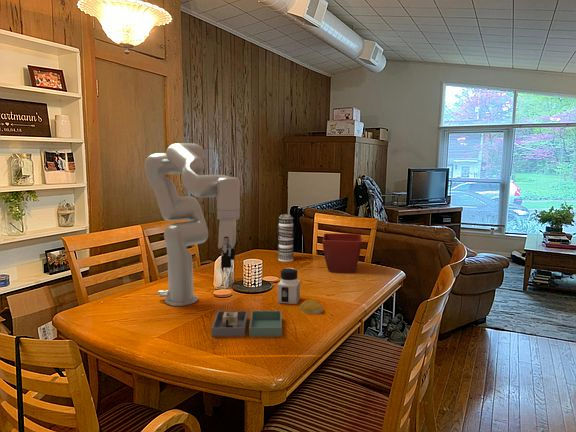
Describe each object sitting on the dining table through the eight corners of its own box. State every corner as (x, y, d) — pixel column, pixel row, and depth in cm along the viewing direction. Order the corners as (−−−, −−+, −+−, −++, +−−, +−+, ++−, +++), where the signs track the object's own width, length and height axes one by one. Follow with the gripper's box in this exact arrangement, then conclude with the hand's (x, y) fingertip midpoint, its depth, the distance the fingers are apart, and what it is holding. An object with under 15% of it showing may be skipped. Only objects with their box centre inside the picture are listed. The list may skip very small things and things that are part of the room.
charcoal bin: (211, 338, 140) (211, 328, 139) (217, 320, 155) (217, 311, 154) (244, 338, 140) (244, 328, 140) (247, 320, 155) (247, 310, 154)
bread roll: (306, 317, 159) (306, 306, 158) (297, 309, 167) (297, 299, 166) (327, 314, 162) (327, 304, 161) (316, 306, 170) (316, 296, 169)
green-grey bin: (249, 338, 140) (249, 327, 140) (251, 320, 155) (251, 310, 154) (281, 338, 140) (281, 327, 140) (281, 320, 155) (281, 310, 155)
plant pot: (323, 263, 232) (324, 232, 230) (360, 265, 230) (361, 233, 227) (321, 273, 214) (322, 240, 211) (361, 275, 211) (362, 241, 209)
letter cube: (222, 330, 145) (222, 316, 144) (224, 324, 150) (224, 311, 149) (236, 329, 145) (236, 316, 144) (237, 324, 150) (237, 311, 149)
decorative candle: (276, 261, 237) (276, 215, 233) (279, 257, 246) (279, 213, 242) (292, 262, 236) (292, 216, 232) (295, 258, 245) (295, 213, 241)
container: (296, 304, 171) (296, 272, 169) (277, 303, 173) (277, 271, 171) (300, 298, 179) (300, 267, 177) (281, 296, 180) (281, 266, 178)
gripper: (220, 209, 155) (220, 256, 157) (212, 218, 137) (212, 270, 140) (242, 210, 155) (241, 257, 158) (236, 219, 138) (236, 271, 141)
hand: (228, 263), depth 149 cm, fingers open, 9 cm apart
